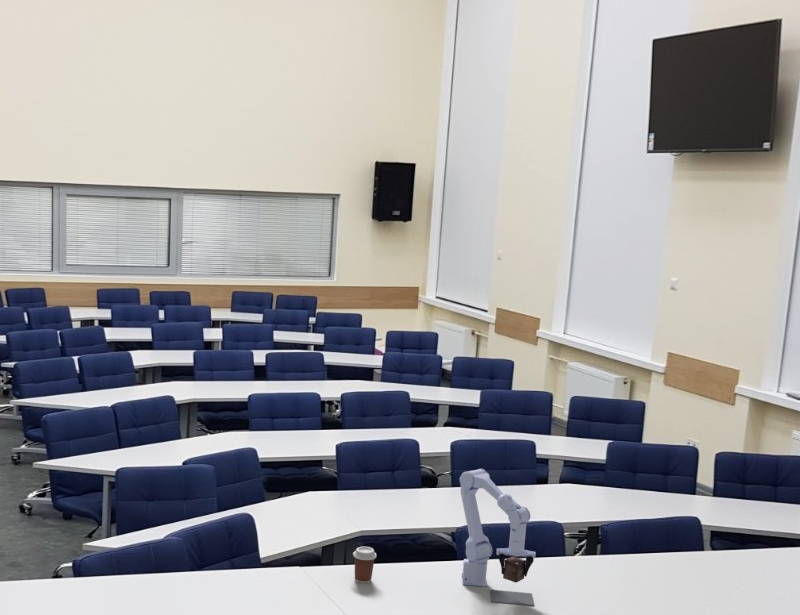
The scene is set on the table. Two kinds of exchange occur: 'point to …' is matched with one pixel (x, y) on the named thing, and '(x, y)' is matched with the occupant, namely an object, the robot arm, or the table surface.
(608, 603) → the table surface
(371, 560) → the coffee cup
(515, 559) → the box
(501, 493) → the robot arm
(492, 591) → the desk mat
